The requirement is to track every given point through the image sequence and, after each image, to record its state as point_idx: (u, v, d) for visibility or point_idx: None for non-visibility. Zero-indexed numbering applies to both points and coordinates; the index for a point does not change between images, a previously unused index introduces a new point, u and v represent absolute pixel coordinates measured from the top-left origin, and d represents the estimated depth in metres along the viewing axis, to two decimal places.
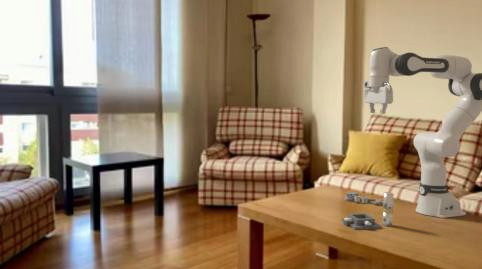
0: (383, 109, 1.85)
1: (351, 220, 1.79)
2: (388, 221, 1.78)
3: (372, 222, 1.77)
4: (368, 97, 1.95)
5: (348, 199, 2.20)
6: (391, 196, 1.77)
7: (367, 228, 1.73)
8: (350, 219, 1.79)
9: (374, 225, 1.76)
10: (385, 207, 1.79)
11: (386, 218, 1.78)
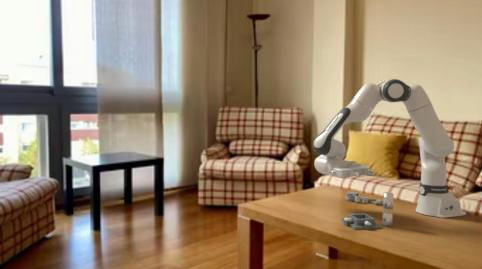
0: (354, 175, 1.87)
1: (351, 220, 1.79)
2: (388, 221, 1.78)
3: (372, 222, 1.77)
4: None
5: (349, 199, 2.20)
6: (391, 196, 1.77)
7: (367, 228, 1.73)
8: (350, 219, 1.79)
9: (374, 225, 1.76)
10: (385, 207, 1.79)
11: (386, 218, 1.78)
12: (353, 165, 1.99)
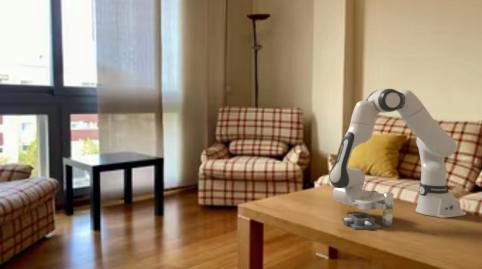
0: (380, 207, 1.79)
1: (351, 220, 1.79)
2: (388, 221, 1.78)
3: (372, 222, 1.77)
4: None
5: None
6: (391, 196, 1.77)
7: (367, 228, 1.73)
8: (350, 219, 1.79)
9: (374, 225, 1.76)
10: None
11: (386, 218, 1.78)
12: (375, 195, 1.90)
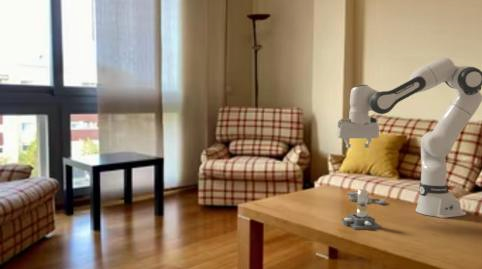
0: (346, 143, 1.98)
1: (351, 220, 1.79)
2: (362, 218, 1.79)
3: (372, 222, 1.77)
4: None
5: (352, 199, 2.20)
6: (365, 193, 1.78)
7: (367, 228, 1.73)
8: (350, 219, 1.79)
9: (374, 225, 1.76)
10: (359, 204, 1.79)
11: (360, 215, 1.79)
12: (367, 126, 1.97)
